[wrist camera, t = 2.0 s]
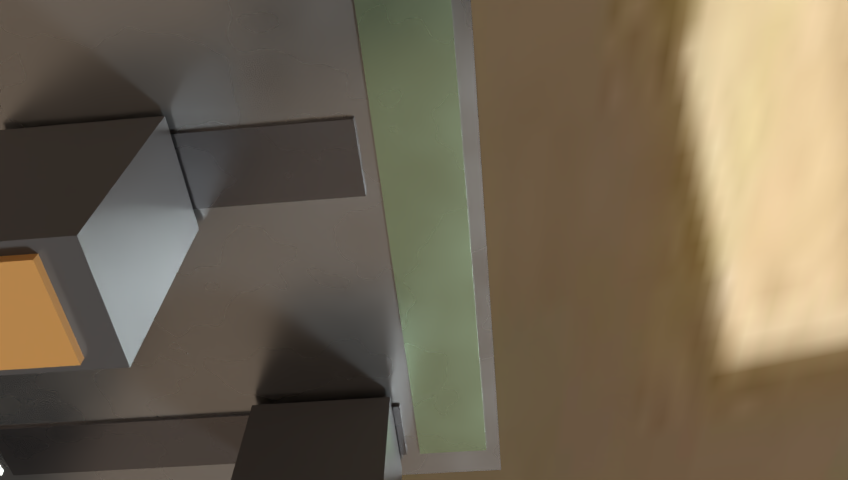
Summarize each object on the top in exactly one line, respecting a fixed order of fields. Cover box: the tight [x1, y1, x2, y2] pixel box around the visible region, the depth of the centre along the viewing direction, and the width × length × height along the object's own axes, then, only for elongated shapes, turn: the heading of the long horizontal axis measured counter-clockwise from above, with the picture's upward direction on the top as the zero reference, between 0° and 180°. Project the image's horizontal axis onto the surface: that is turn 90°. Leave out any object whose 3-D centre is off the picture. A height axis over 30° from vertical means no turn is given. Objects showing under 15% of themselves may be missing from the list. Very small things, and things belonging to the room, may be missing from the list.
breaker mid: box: [0, 116, 199, 375], centre depth 16 cm, size 4×3×5 cm
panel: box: [0, 0, 501, 480], centre depth 19 cm, size 18×23×2 cm
